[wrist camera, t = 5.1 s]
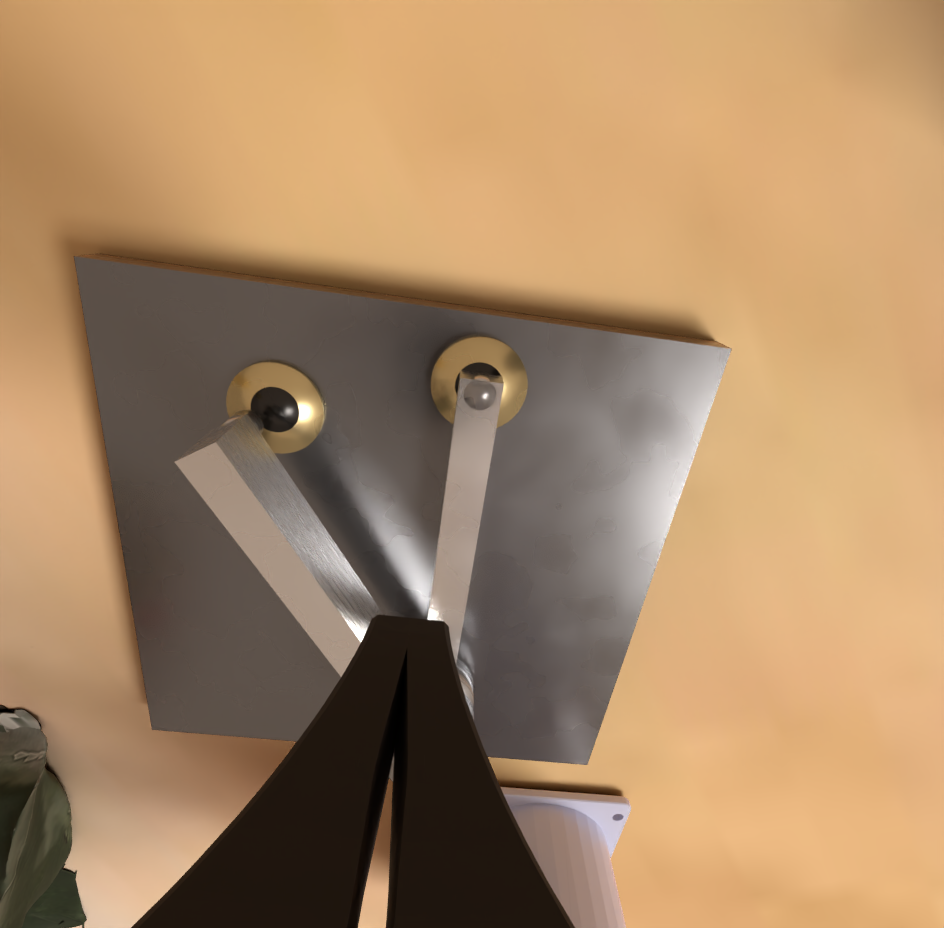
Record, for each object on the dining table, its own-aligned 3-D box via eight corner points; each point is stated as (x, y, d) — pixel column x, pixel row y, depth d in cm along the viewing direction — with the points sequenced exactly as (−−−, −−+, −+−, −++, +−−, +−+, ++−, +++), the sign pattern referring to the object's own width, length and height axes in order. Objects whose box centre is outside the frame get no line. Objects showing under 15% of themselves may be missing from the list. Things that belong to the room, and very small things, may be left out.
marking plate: (582, 744, 24) (592, 787, 22) (164, 708, 22) (138, 752, 21) (716, 341, 16) (748, 357, 14) (97, 253, 15) (46, 259, 13)
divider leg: (486, 708, 20) (489, 778, 18) (416, 731, 21) (409, 803, 18) (283, 389, 15) (246, 425, 12) (195, 431, 15) (142, 474, 13)
